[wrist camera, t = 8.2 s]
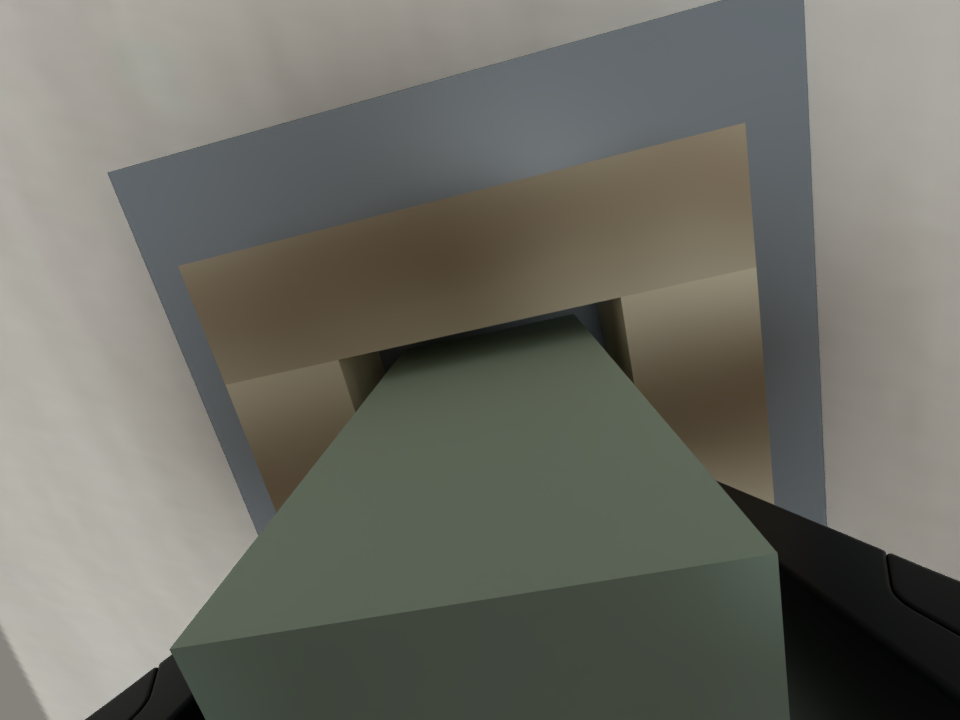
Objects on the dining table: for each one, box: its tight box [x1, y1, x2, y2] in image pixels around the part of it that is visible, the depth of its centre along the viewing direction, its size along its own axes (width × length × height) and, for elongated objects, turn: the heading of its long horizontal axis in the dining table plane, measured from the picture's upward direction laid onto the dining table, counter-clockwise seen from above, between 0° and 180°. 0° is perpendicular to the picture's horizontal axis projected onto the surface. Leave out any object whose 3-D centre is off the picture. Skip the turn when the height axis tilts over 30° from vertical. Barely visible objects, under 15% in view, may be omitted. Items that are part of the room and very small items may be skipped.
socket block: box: [178, 123, 775, 513], centre depth 13 cm, size 12×12×3 cm
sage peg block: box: [170, 314, 790, 720], centre depth 9 cm, size 5×5×10 cm
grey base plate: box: [108, 0, 827, 536], centre depth 15 cm, size 20×18×1 cm
